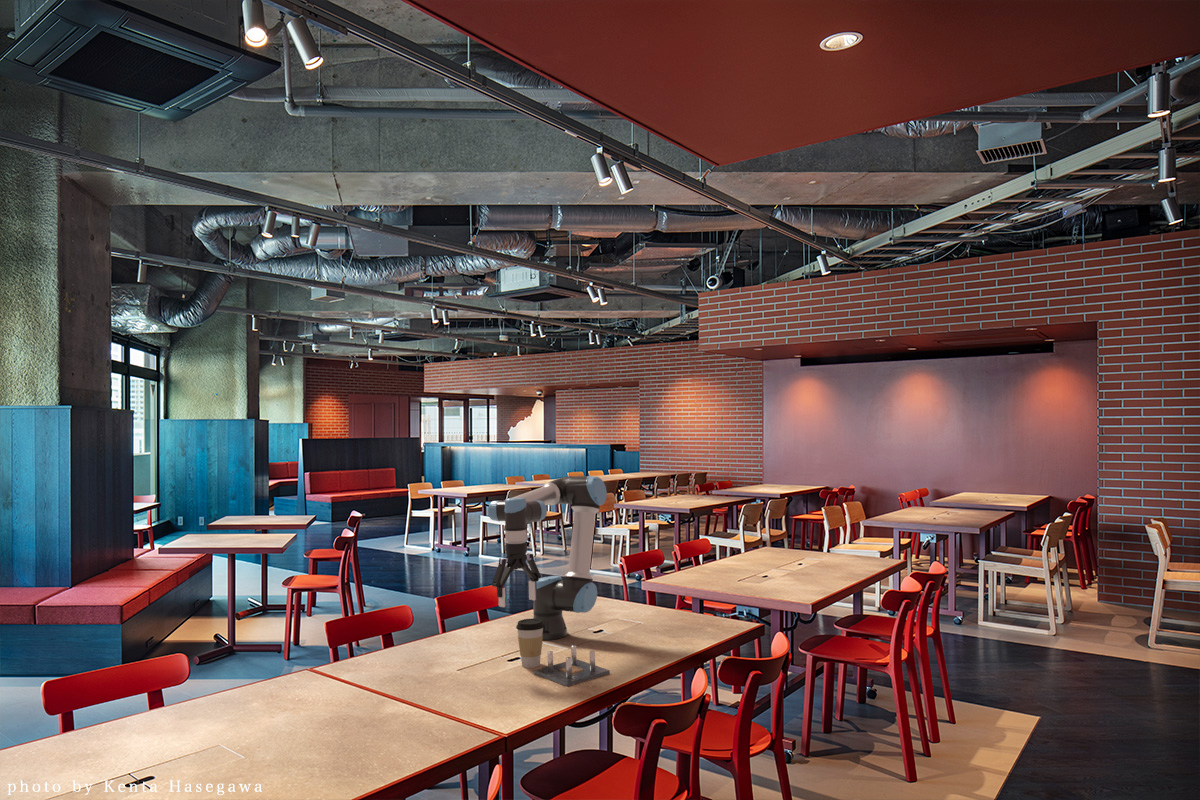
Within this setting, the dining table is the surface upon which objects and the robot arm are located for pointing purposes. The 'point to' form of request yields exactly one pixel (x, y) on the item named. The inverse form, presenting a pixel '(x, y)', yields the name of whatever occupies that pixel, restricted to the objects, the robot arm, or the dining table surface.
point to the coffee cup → (530, 641)
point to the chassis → (571, 669)
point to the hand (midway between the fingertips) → (517, 603)
